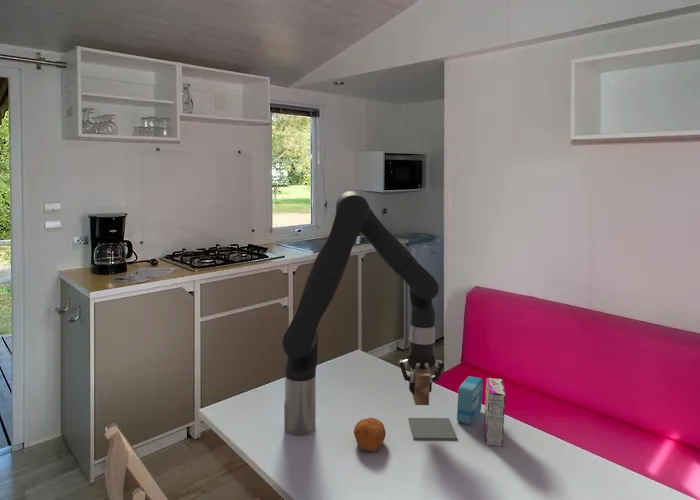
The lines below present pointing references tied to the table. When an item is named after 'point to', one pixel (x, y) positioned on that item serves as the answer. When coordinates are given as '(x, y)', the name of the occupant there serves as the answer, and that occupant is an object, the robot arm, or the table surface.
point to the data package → (469, 400)
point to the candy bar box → (494, 412)
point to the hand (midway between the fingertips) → (420, 392)
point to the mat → (432, 429)
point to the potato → (369, 434)
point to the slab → (421, 387)
